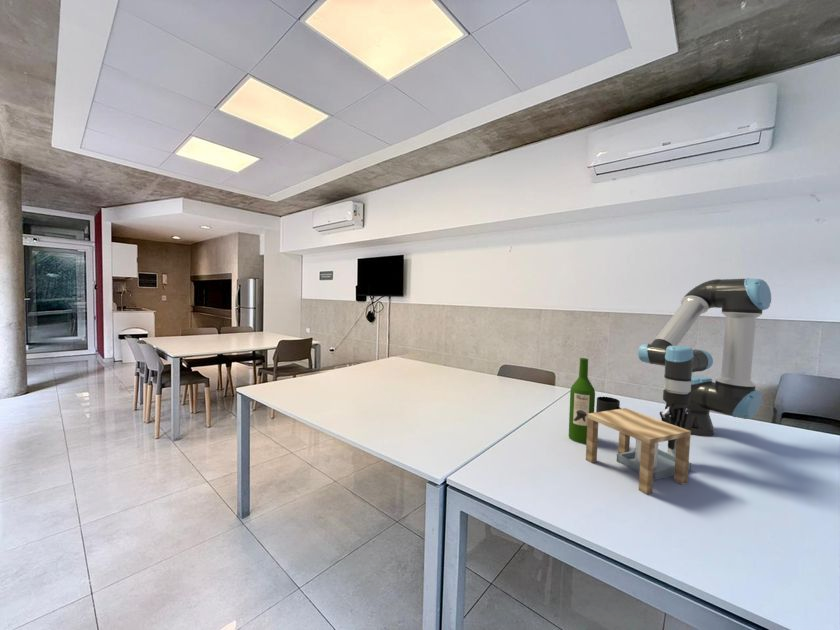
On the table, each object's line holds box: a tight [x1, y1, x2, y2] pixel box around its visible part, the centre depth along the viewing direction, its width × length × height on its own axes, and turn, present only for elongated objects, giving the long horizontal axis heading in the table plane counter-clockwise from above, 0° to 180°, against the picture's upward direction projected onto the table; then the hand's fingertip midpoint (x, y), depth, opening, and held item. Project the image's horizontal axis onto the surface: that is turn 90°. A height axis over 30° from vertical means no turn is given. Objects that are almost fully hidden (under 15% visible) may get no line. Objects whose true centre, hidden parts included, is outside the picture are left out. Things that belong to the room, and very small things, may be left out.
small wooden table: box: [585, 407, 692, 495], centre depth 112 cm, size 18×22×16 cm
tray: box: [616, 448, 693, 481], centre depth 116 cm, size 18×13×2 cm
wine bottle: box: [568, 357, 596, 444], centre depth 136 cm, size 9×9×32 cm
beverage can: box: [635, 438, 659, 467], centre depth 114 cm, size 6×6×12 cm
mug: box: [595, 396, 622, 413], centre depth 159 cm, size 9×12×9 cm
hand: (672, 457), depth 119 cm, fingers closed
